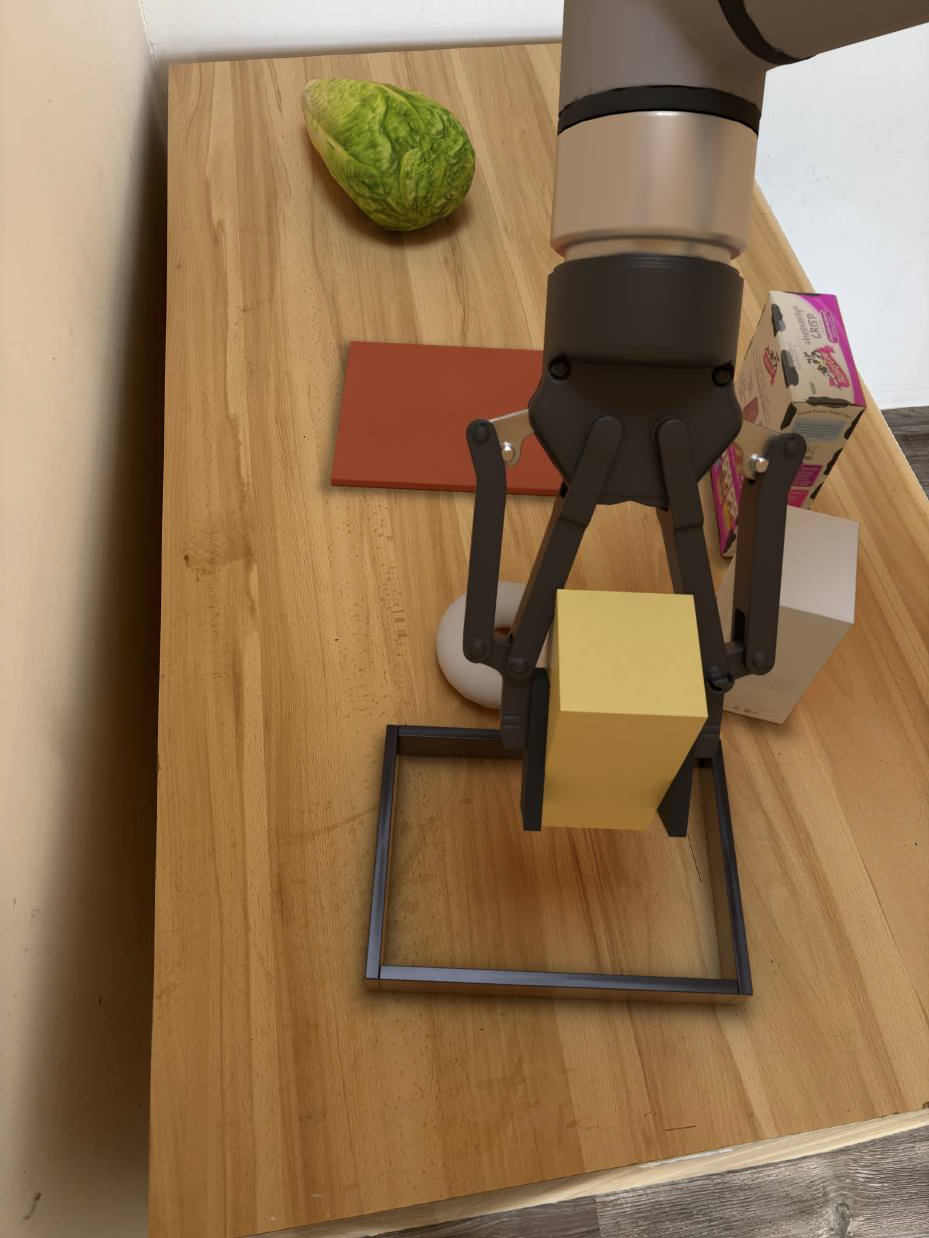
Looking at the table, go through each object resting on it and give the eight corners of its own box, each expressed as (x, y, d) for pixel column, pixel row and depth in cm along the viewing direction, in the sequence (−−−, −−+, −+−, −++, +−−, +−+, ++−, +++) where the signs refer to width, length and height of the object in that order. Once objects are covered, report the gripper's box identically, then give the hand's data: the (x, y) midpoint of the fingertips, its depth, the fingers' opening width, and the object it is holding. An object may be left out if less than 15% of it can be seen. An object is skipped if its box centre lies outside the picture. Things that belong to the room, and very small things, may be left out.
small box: (782, 727, 64) (856, 626, 53) (691, 703, 65) (745, 599, 54) (792, 631, 68) (862, 519, 57) (706, 610, 69) (758, 496, 58)
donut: (434, 719, 64) (581, 719, 64) (434, 695, 61) (587, 696, 61) (436, 597, 69) (571, 598, 69) (435, 570, 66) (576, 571, 66)
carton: (638, 726, 48) (693, 594, 37) (645, 830, 45) (708, 717, 34) (530, 722, 47) (556, 588, 37) (531, 825, 44) (560, 710, 34)
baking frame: (709, 757, 63) (721, 738, 60) (738, 1005, 54) (753, 995, 52) (387, 743, 62) (386, 723, 60) (367, 989, 54) (364, 978, 51)
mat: (575, 358, 83) (576, 351, 82) (582, 497, 74) (583, 490, 74) (351, 347, 83) (350, 340, 82) (331, 485, 74) (330, 478, 74)
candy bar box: (785, 563, 72) (871, 408, 58) (720, 559, 72) (791, 403, 58) (765, 454, 78) (839, 290, 64) (705, 451, 78) (766, 286, 64)
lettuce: (378, 55, 100) (284, 1, 91) (515, 153, 88) (423, 102, 79) (332, 163, 106) (238, 123, 96) (455, 269, 94) (362, 235, 85)
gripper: (844, 288, 40) (781, 795, 45) (412, 268, 40) (396, 779, 45) (930, 259, 33) (843, 870, 37) (399, 234, 32) (382, 850, 37)
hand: (600, 819), depth 41 cm, fingers closed on carton, 5 cm apart
